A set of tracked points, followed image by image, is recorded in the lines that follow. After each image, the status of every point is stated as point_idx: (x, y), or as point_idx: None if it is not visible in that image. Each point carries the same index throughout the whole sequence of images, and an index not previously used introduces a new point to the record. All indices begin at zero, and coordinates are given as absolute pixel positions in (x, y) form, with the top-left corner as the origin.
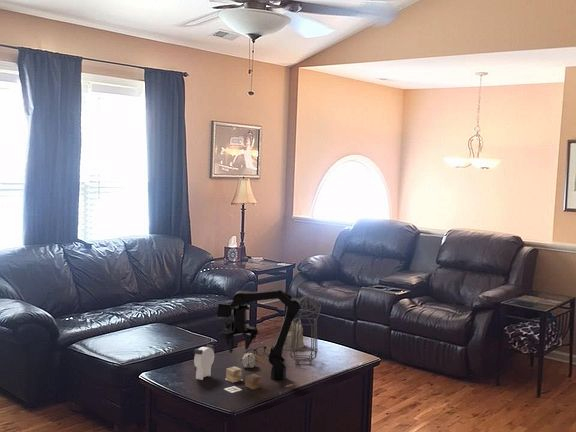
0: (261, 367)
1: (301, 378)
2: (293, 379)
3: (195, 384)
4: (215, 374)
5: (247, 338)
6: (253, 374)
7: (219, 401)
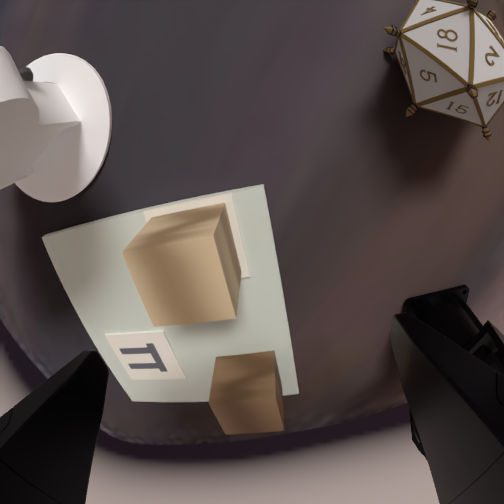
0: None
1: None
2: None
3: (7, 199)
4: (137, 63)
5: (473, 495)
6: (265, 403)
7: None
